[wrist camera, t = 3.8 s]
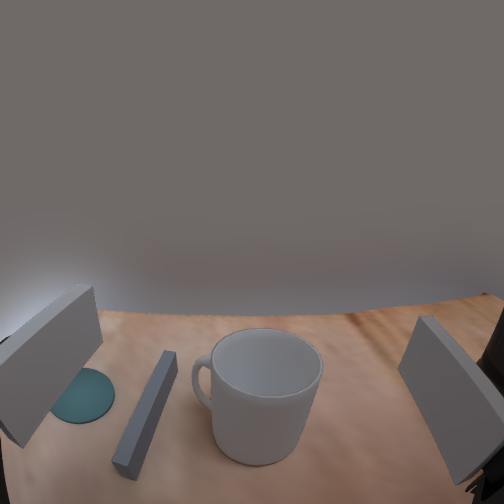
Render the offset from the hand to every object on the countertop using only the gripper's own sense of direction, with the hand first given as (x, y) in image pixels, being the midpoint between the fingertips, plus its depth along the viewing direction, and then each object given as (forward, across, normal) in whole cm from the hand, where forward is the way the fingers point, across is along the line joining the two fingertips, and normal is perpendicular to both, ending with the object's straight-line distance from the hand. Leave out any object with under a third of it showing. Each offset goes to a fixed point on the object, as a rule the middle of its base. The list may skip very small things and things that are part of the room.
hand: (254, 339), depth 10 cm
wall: (+10, -10, -20) cm, 25 cm away
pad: (+10, -21, -21) cm, 31 cm away
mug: (+10, 0, -21) cm, 23 cm away
